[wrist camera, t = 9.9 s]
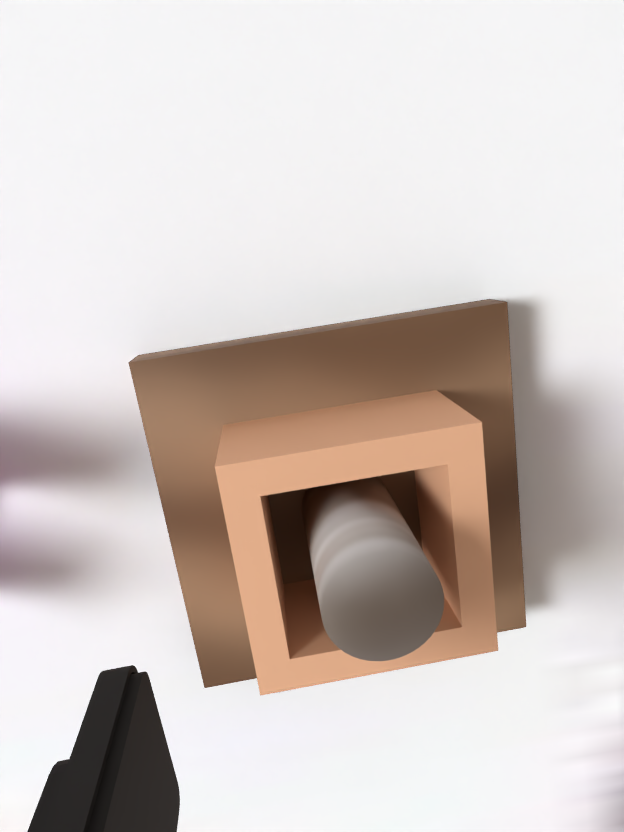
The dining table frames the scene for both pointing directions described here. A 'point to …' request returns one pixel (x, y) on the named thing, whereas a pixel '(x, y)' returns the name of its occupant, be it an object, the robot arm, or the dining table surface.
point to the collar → (346, 461)
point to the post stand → (336, 503)
